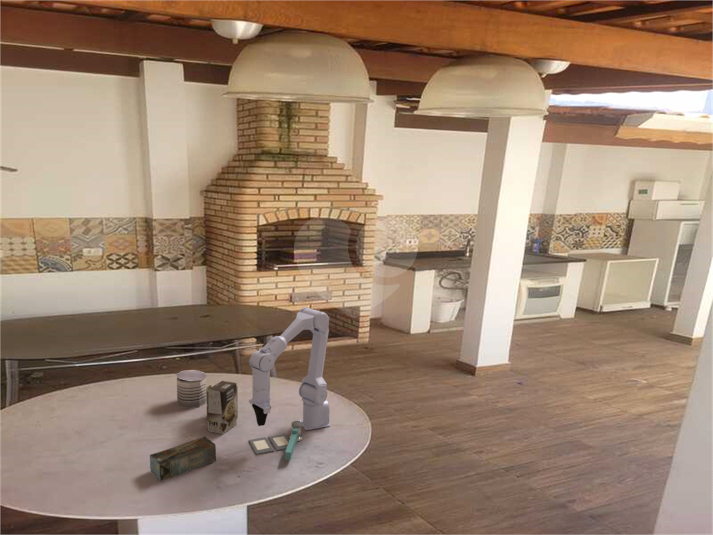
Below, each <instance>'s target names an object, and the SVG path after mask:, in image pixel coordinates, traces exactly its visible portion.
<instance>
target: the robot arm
mask: <svg viewBox="0 0 713 535" xmlns="http://www.w3.org/2000/svg"><path fill="white" fill-rule="evenodd" d="M329 323H330V316H328V314H327V313H326V312H324V311H319V310H316V309H312V308H310V307H307V306H305V307H302V308H301V309H300V310H299V311H298V312H297V313H296V318H295V319H294V320H293V321H292V322H291V323H290V325H289V326H288V327H286V329H285V330H284V331H283V332H282V333H281V334H280V335H279V336H278V335H275V336H272V337H271V338H270V340H269V341H268V342H267V343H266V344H265V345H264V346H263V347H262V348H261V349H260V350H256V351H254V352H252V354H251V355H250V357H249V360H248V364H249V366H250V368H251V372H252V398H251V399H248V403H249V404H251V407H252V409H253V411H254V414H255V419H256V423H257V426H258V427H261V426H265V425H266V422H267V418H268V414H271V408H272V406H271V370H272V369H273V367H274V366H275V362H276V360H277V358H278V357H279V356H281V355H282V353H283V352H285V351H286V350H287V347H288V343H289V342H291V340H293V339H294V338H295V337H297V336H298V335H299V334H300V333H301V332H302V331H304V330H309V331H310V332H311V333H312V340H311V347H310V354H309V362H308V369H307V375H306V376H304V377H302V380H301V383H300V386H299V388H298V395H299V397H301V401H302V419H299V420H298V421H300V422H302V427H303V428H304V430H305V431H309V430H311V431H312V430H315V429H321V428H327V427H330V426H331V424H330V404H329V402H328V400H327V398H328V388H327V387H328V384H327V382H326V381H325V378H323V375H324V374H323V373H324V367H325V360H326V354H327V353H326V352H327V345H328V338H329V331H330V329H329V328H330V327H329Z"/></svg>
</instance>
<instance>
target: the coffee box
mask: <svg viewBox="0 0 713 535" xmlns="http://www.w3.org/2000/svg"><path fill="white" fill-rule="evenodd" d="M236 385H237V382H234V381H233V382H232V381H225V380H221V381H220V382H218V383H216V384H215V385H212V386H211V388H209V389H208V390H209V423H208V431H209V432H211V433H214V432H215V434H220V435H224V434H226V433H227V432H228V431H229V430H231V429H232V428H233V427H235V426H237V423H238V422H237V420H238V418H237V410H238V409H237V404H238V402H237V390H236V389H237V387H238V386H237V387H236Z"/></svg>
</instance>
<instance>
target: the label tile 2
mask: <svg viewBox="0 0 713 535" xmlns="http://www.w3.org/2000/svg"><path fill="white" fill-rule="evenodd" d="M267 439H268V440H269V439H270V440H269V441H270V442H271V443H270V444H272V446H273V447H274V448H273V449H275V450H276V452H281V451H284V450H285V449H286V448H287V446H288V443H289V440H290V439H289V436H287V434H286V433H280V434H274V435H269V436H267ZM285 451H286V450H285Z"/></svg>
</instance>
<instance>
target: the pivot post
mask: <svg viewBox="0 0 713 535" xmlns="http://www.w3.org/2000/svg"><path fill="white" fill-rule="evenodd" d="M301 428H302V427H300V428H298V439H297V442H296V443H298V442H302V441H303V440H305V439H304V438H305V436H304V435H303V434H301ZM291 435H292V433H291V434H290V435H289V436H288V439H289V440H290V437H291Z"/></svg>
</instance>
